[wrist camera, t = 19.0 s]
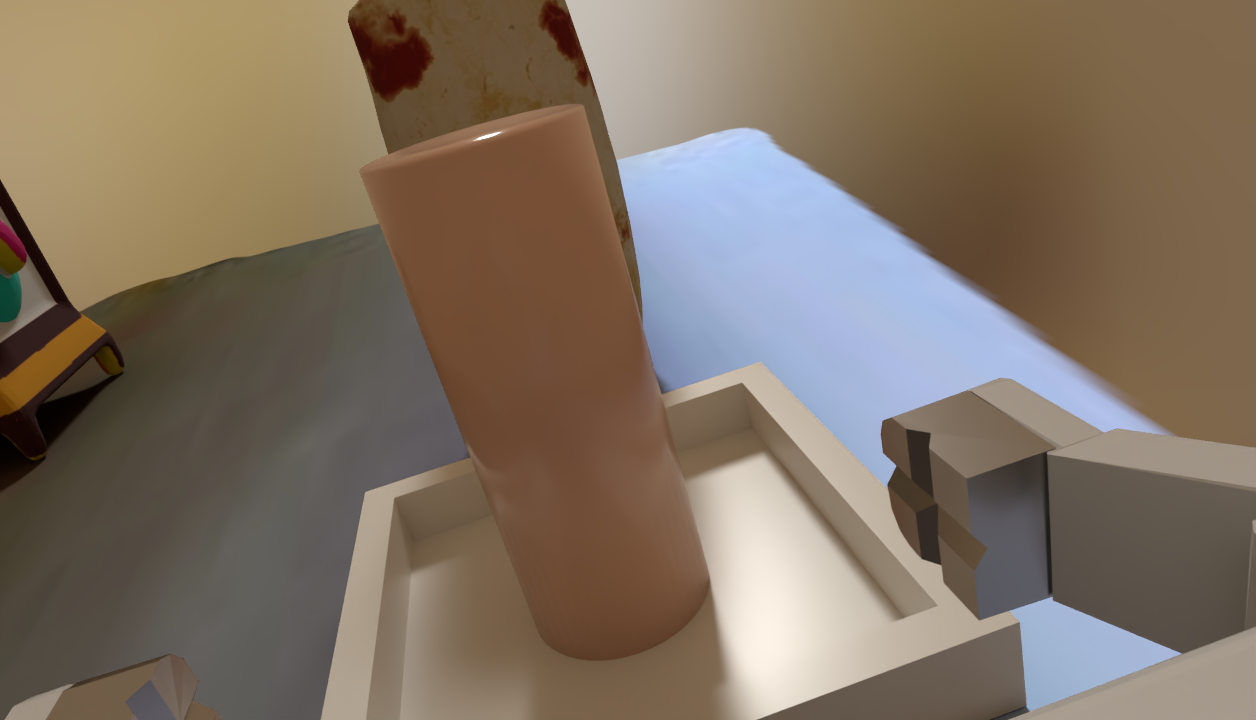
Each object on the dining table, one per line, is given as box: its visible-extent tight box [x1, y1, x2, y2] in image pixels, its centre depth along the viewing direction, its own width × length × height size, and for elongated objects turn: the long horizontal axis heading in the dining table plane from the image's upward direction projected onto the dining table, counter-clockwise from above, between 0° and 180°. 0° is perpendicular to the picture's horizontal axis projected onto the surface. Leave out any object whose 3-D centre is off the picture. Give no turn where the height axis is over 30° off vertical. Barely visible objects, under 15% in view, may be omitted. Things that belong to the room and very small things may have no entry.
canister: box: [359, 104, 710, 661], centre depth 22 cm, size 6×6×14 cm
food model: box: [348, 0, 643, 324], centre depth 38 cm, size 10×7×20 cm
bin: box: [321, 362, 1027, 720], centre depth 25 cm, size 16×16×2 cm
